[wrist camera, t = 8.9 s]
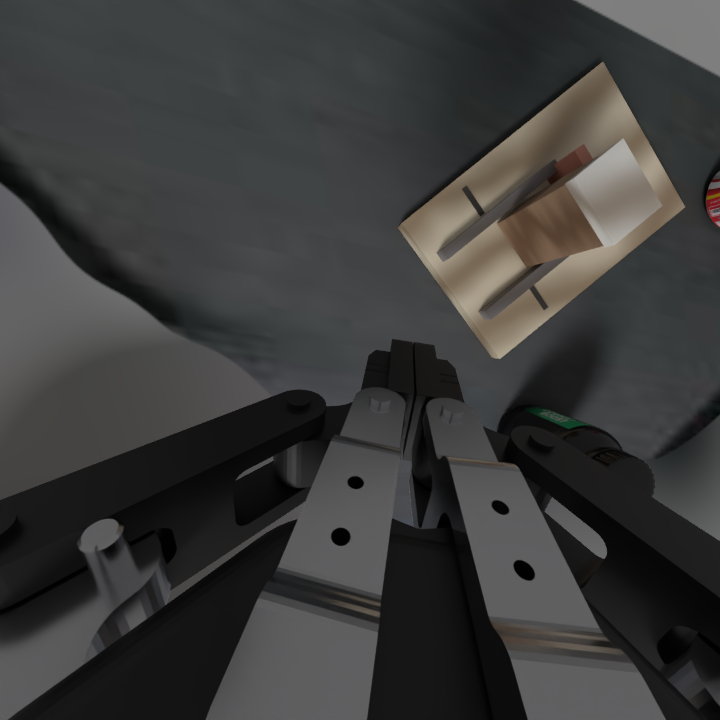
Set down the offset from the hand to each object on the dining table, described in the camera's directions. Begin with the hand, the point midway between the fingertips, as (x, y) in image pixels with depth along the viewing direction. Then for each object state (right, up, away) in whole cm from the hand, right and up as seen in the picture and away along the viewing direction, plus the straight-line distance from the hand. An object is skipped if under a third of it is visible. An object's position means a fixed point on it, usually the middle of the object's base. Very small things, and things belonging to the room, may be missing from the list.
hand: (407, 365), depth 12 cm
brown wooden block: (+14, +12, +19) cm, 27 cm away
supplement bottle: (+16, -8, +24) cm, 29 cm away
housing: (+16, +14, +21) cm, 30 cm away
